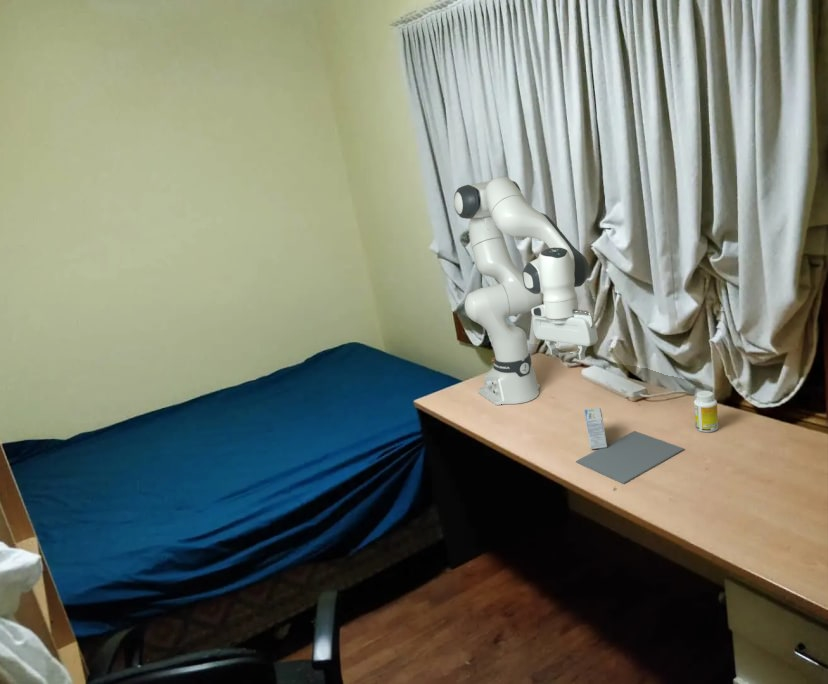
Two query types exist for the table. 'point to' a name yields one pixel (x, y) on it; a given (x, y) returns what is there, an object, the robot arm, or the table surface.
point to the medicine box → (595, 428)
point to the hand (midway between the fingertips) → (567, 357)
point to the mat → (629, 456)
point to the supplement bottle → (706, 412)
